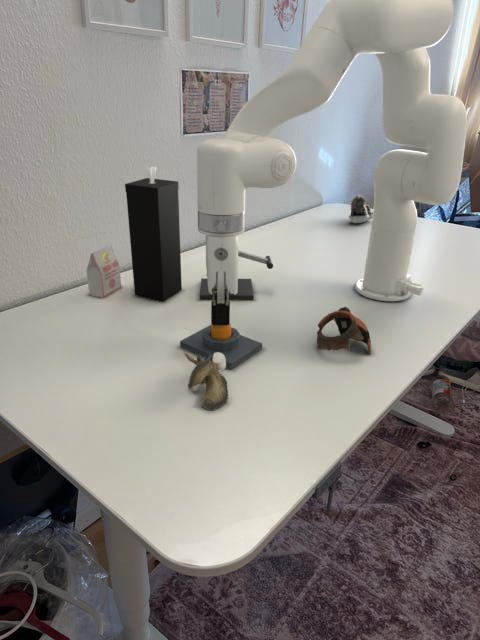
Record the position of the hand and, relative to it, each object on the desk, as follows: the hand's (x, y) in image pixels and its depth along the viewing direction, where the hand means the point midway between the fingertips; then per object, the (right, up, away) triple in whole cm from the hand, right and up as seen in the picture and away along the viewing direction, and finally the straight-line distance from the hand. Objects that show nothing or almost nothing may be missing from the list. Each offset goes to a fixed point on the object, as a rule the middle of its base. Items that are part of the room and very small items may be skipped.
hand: (220, 323), depth 85 cm
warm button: (0, -2, +1) cm, 3 cm away
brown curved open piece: (+23, -5, +4) cm, 23 cm away
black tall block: (-15, +6, +24) cm, 29 cm away
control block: (0, -5, +2) cm, 5 cm away
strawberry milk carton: (-27, +7, +25) cm, 38 cm away
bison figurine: (+46, +35, +83) cm, 101 cm away
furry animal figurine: (-2, -11, -10) cm, 15 cm away
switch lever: (+5, +14, +23) cm, 27 cm away
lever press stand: (0, +7, +26) cm, 27 cm away
